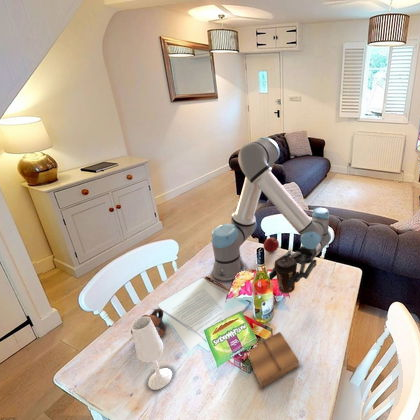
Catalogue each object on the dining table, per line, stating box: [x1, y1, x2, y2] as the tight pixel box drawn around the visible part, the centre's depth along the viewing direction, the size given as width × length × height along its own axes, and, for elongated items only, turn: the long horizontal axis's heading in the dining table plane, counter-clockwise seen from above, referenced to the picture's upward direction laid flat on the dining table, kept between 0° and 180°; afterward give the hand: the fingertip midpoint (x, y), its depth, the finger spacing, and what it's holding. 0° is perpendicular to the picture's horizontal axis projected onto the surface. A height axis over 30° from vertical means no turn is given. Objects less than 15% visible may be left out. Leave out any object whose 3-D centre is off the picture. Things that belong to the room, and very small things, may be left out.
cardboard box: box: [248, 331, 300, 389], centre depth 89 cm, size 13×13×3 cm
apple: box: [263, 237, 280, 253], centre depth 146 cm, size 8×8×8 cm
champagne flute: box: [130, 316, 173, 391], centre depth 78 cm, size 7×7×24 cm
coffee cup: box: [273, 255, 298, 295], centre depth 103 cm, size 9×8×13 cm
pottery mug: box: [130, 308, 167, 338], centre depth 99 cm, size 12×10×8 cm
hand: (279, 280), depth 99 cm, fingers closed on coffee cup, 7 cm apart
